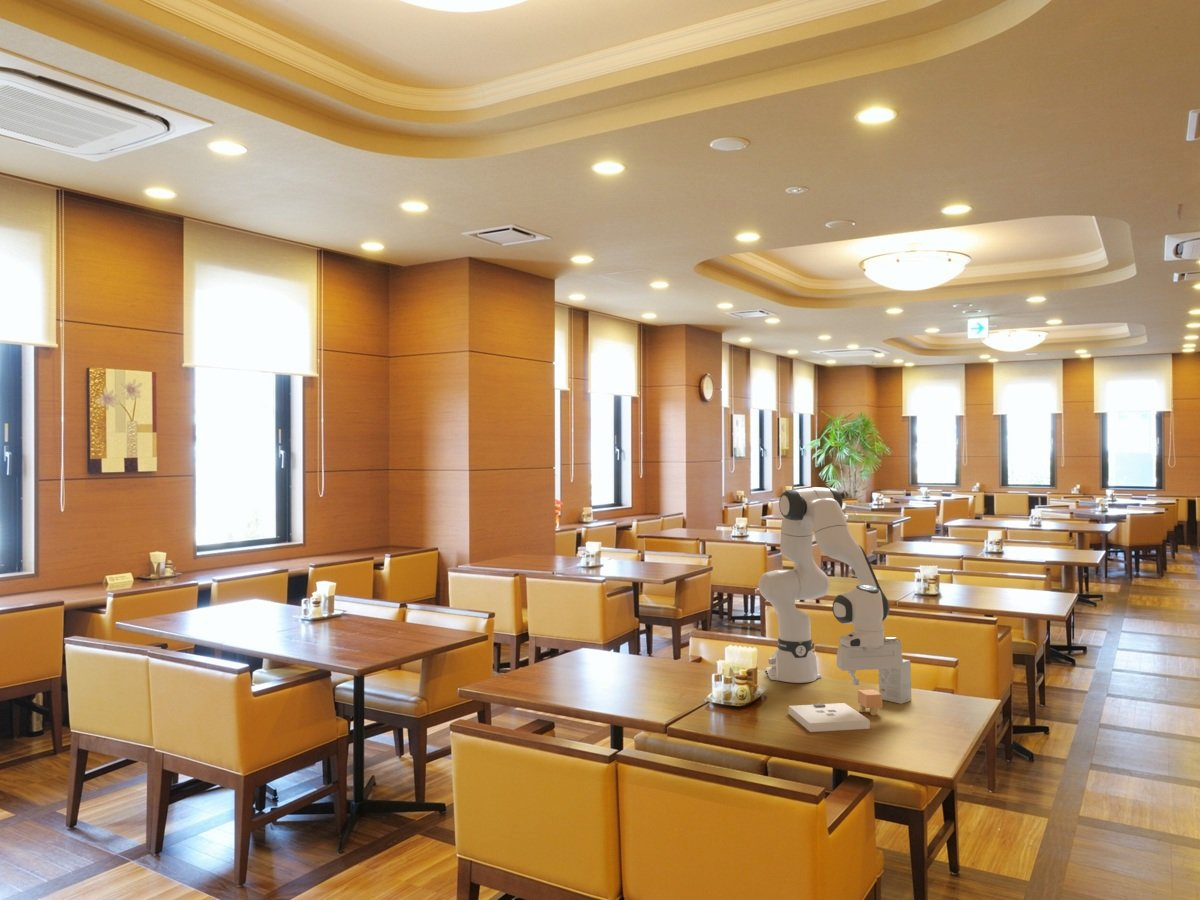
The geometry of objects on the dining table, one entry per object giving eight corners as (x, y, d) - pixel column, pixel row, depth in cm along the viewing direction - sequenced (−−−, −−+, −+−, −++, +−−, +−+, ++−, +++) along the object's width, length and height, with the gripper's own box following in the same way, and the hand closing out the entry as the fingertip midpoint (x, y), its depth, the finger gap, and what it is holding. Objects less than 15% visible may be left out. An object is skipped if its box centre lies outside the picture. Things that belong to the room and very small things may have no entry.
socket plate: (788, 714, 266) (788, 703, 266) (844, 711, 269) (844, 701, 269) (810, 732, 249) (809, 721, 249) (869, 728, 251) (869, 717, 251)
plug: (858, 710, 269) (858, 690, 269) (873, 709, 270) (873, 689, 270) (866, 715, 263) (866, 695, 263) (882, 715, 264) (881, 694, 264)
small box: (911, 700, 279) (911, 660, 279) (901, 704, 275) (900, 663, 275) (889, 695, 285) (888, 656, 286) (878, 699, 281) (877, 659, 281)
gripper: (896, 635, 271) (897, 679, 271) (833, 638, 269) (835, 682, 268) (905, 639, 265) (907, 684, 264) (841, 641, 262) (843, 687, 262)
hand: (870, 683), depth 266 cm, fingers open, 8 cm apart
